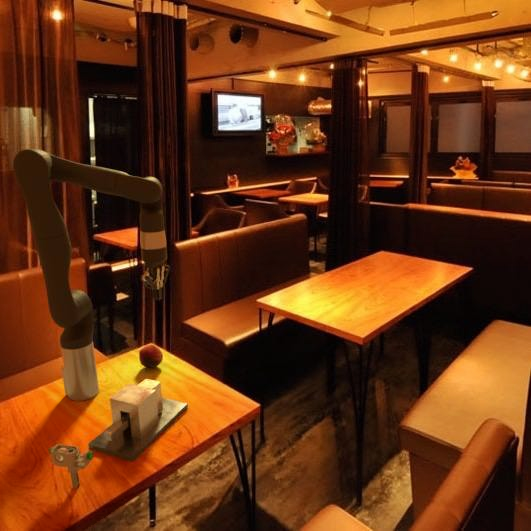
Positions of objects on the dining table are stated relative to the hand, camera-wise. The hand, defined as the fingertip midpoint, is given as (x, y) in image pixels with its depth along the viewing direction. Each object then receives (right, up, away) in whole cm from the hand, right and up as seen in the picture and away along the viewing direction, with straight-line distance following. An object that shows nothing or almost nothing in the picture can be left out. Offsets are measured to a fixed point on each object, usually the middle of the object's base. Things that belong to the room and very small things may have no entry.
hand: (157, 299), depth 154 cm
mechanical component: (-11, -42, -37) cm, 57 cm away
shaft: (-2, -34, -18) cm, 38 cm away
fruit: (-6, -25, +18) cm, 31 cm away
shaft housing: (-1, -35, -15) cm, 38 cm away
